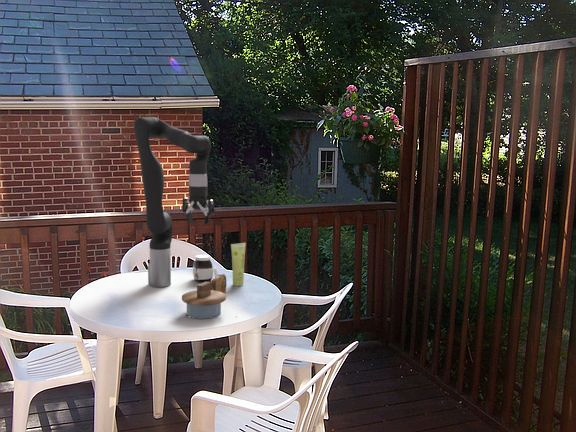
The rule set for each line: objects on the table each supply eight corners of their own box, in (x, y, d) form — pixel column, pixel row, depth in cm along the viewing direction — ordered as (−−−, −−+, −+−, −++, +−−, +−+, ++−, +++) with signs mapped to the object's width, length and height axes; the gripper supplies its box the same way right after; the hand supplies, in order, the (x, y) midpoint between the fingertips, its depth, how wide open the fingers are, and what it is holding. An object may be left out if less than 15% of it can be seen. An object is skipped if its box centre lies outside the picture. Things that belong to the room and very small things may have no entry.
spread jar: (190, 278, 278) (190, 254, 276) (212, 275, 284) (212, 252, 282) (201, 285, 268) (201, 260, 266) (223, 282, 274) (224, 257, 272)
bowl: (180, 315, 227) (180, 300, 226) (199, 306, 238) (199, 291, 237) (208, 321, 221) (208, 305, 220) (226, 311, 233) (227, 296, 232)
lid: (172, 301, 225) (172, 285, 224) (198, 289, 240) (198, 275, 239) (210, 308, 218) (210, 292, 217) (234, 296, 233) (234, 281, 232)
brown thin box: (216, 300, 246) (216, 281, 245) (209, 300, 247) (209, 280, 245) (227, 290, 261) (227, 272, 259) (220, 290, 261) (220, 271, 260)
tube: (240, 287, 266) (241, 244, 263) (230, 285, 268) (230, 243, 265) (245, 283, 272) (245, 242, 269) (235, 282, 273) (235, 241, 270)
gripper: (178, 184, 240) (178, 223, 243) (207, 186, 234) (207, 226, 237) (189, 182, 247) (189, 220, 250) (217, 185, 241) (217, 224, 244)
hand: (198, 223), depth 243 cm, fingers open, 8 cm apart
